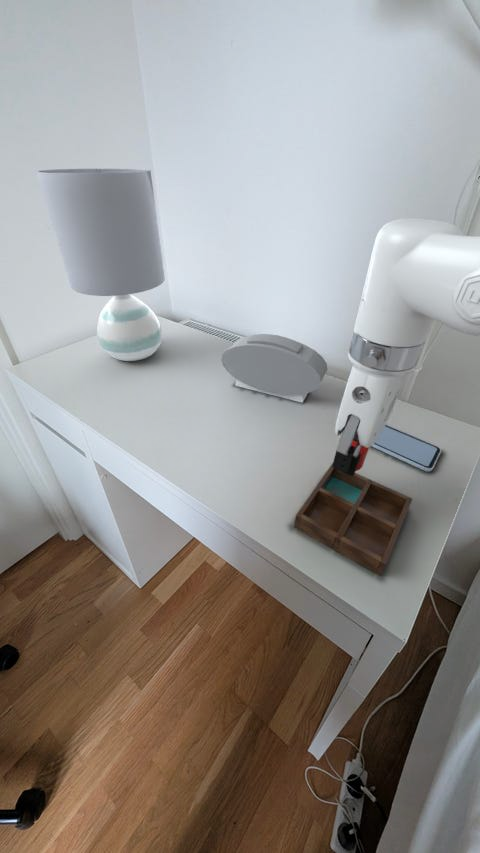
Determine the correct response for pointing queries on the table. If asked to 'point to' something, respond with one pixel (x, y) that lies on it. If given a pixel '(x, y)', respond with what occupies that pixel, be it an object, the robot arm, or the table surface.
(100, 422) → the table surface
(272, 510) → the table surface
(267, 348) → the alarm clock
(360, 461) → the red cylinder
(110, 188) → the lamp
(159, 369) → the table surface
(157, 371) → the table surface
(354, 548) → the grid
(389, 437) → the smartphone
